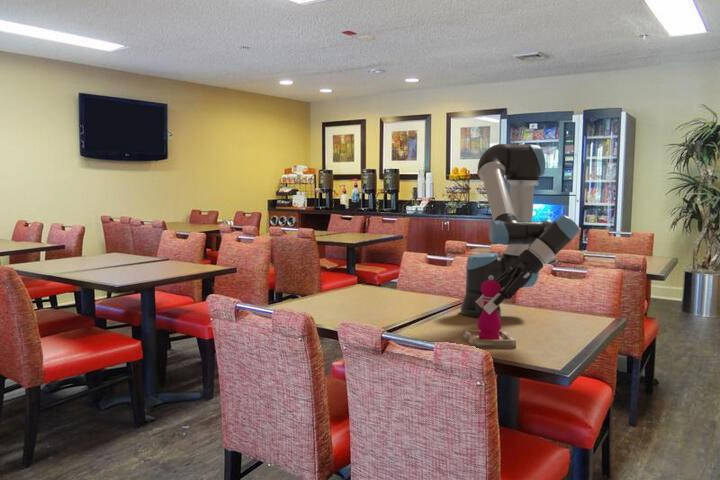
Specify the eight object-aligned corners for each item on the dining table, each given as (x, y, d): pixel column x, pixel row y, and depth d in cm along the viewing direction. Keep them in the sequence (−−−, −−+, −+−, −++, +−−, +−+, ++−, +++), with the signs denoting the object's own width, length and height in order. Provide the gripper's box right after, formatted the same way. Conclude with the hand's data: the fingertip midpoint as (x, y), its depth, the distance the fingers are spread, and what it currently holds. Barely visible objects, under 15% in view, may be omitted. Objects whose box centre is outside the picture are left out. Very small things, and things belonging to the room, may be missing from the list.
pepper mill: (474, 336, 180) (476, 273, 178) (496, 336, 181) (498, 273, 179) (481, 342, 173) (483, 276, 171) (504, 341, 173) (506, 276, 172)
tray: (463, 336, 183) (463, 330, 183) (503, 337, 183) (503, 330, 183) (472, 347, 170) (473, 340, 170) (515, 347, 171) (516, 340, 170)
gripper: (556, 270, 165) (500, 324, 165) (531, 261, 186) (481, 309, 187) (539, 252, 164) (482, 306, 165) (516, 245, 185) (466, 293, 186)
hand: (482, 307), depth 176 cm, fingers open, 9 cm apart
